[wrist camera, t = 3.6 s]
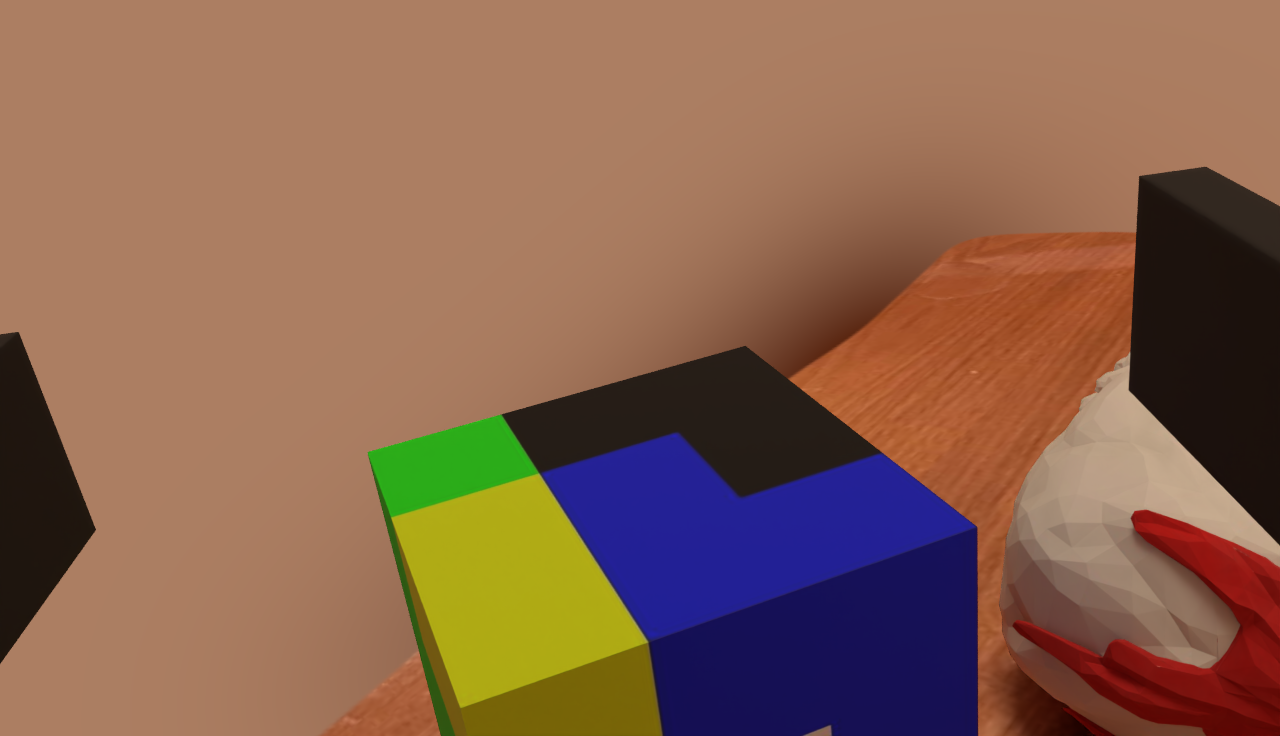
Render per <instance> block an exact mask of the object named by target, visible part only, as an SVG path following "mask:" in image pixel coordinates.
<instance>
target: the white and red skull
mask: <svg viewBox="0 0 1280 736" xmlns="http://www.w3.org/2000/svg"><path fill="white" fill-rule="evenodd" d="M1129 370H1130V353H1129V354H1128V356H1127V357H1125V358H1122V359H1121V360H1119V361H1118V362H1117V363H1116V364H1115V368H1114V371H1112V372H1108V373H1106V374H1104V375H1103V376H1102V377H1100V378H1099V379H1098V380H1096V382H1097V386H1096V388H1095V391H1096V392H1097V393H1094V394H1092V395H1089V396H1087V397H1084V398H1083V399H1082V400H1081V406H1080V408H1079V411H1080V412H1079V413H1078V414H1077V415H1076V416H1075V417H1074V418H1073V420H1072V421H1071V423H1070V424H1069V426H1068V427H1067V429H1066V430H1065V431H1064V432H1063V433H1062V434H1061V435H1059V436H1058V437H1057V438H1056V439H1055V440H1054V441H1053V442H1052V443H1051V444H1050V445H1048V446H1047V447H1046V448H1045V450H1044V451H1043V453H1042V454H1041V456H1040V457H1039V458H1038V460H1037V461H1036V463H1035V464H1034V465H1033V467H1032V468H1031V470H1030V471H1029V472H1028V474H1027V476H1026V478H1025V480H1024V482H1023V485H1022V487H1021V489H1020V491H1019V493H1018V495H1017V498H1016V500H1015V503H1014V512H1013V520H1012V523H1011V525H1010V528H1009V531H1008V534H1007V537H1006V547H1005V557H1004V566H1003V575H1002V584H1001V593H1000V602H999V607H1000V611H1001V614H1002V632H1003V635H1004V638H1005V641H1006V644H1007V647H1008V649H1009V652H1010V655H1011V656H1012V658H1013V659H1014V660H1015V662H1016V663H1017V665H1018V666H1019V668H1020V669H1021V670H1022V671H1023V672H1024V673H1025V674H1026V675H1027V676H1028V677H1030V678H1031V679H1032V680H1033V681H1034V682H1035V683H1037V684H1038V685H1039V686H1040V687H1041V688H1043V689H1044V690H1045V691H1046V692H1047V693H1048V694H1050V695H1051V696H1052V697H1053V698H1054V699H1056V700H1058V701H1060V702H1063V703H1065V704H1067V705H1068V706H1069V707H1070V708H1062V709H1063V710H1064V711H1066V712H1067V713H1068V714H1070V715H1071V716H1072V717H1074V718H1075V719H1077V720H1078V721H1079V722H1080V723H1082V724H1083V725H1084V726H1085V727H1086V728H1087V729H1088V730H1089V731H1090V732H1091V733H1092V734H1094V735H1095V736H1280V545H1279V544H1278V543H1277V542H1276V541H1275V540H1274V539H1273V538H1272V537H1271V536H1270V535H1269V534H1268V533H1267V532H1266V531H1265V530H1264V529H1263V528H1262V527H1261V526H1260V525H1259V524H1258V523H1257V522H1256V521H1255V520H1254V519H1253V518H1252V517H1251V516H1250V515H1249V514H1248V513H1247V512H1246V510H1245V509H1244V508H1243V507H1242V506H1241V505H1240V504H1239V503H1238V502H1237V501H1236V500H1235V499H1234V498H1233V497H1232V496H1231V495H1230V494H1229V493H1228V492H1227V491H1226V490H1225V489H1224V488H1223V487H1222V486H1221V485H1220V484H1219V483H1218V482H1217V481H1216V480H1215V479H1214V478H1213V477H1212V476H1211V475H1210V473H1209V472H1208V471H1207V470H1206V469H1205V468H1204V467H1203V466H1202V465H1201V464H1200V463H1199V462H1198V461H1197V460H1196V459H1195V458H1194V457H1193V456H1192V455H1191V454H1190V453H1189V452H1188V451H1187V450H1186V449H1185V448H1184V447H1183V446H1182V445H1181V444H1180V443H1179V442H1178V441H1177V440H1176V439H1175V437H1174V436H1173V435H1172V434H1171V433H1170V432H1169V431H1168V430H1167V429H1166V428H1165V427H1164V426H1163V425H1162V424H1161V423H1160V422H1159V421H1158V420H1157V419H1156V418H1155V417H1154V416H1153V415H1152V414H1151V413H1150V412H1149V411H1148V410H1147V409H1146V408H1145V407H1144V406H1143V405H1142V404H1141V403H1140V402H1139V400H1138V399H1137V398H1136V397H1135V396H1134V395H1133V394H1132V393H1131V392H1130V391H1129V390H1128V389H1129Z"/></svg>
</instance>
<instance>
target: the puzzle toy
mask: <svg viewBox="0 0 1280 736" xmlns="http://www.w3.org/2000/svg"><path fill="white" fill-rule="evenodd" d="M368 456H369V460H370V464H371V468H372V471H373V475H374V479H375V483H376V487H377V491H378V495H379V499H380V502H381V506H382V510H383V514H384V518H385V521H386V525H387V529H388V533H389V537H390V541H391V544H392V548H393V553H394V556H395V560H396V564H397V568H398V572H399V575H400V580H401V583H402V587H403V591H404V595H405V599H406V603H407V606H408V610H409V614H410V618H411V622H412V626H413V630H414V634H415V637H416V641H417V645H418V649H419V653H420V657H421V661H422V664H423V668H424V672H425V676H426V680H427V684H428V688H429V691H430V695H431V699H432V703H433V707H434V711H435V715H436V718H437V722H438V726H439V730H440V734H441V736H978V572H977V526H975V525H974V524H973V523H972V522H970V521H969V520H968V519H966V518H965V517H964V516H963V515H961V514H960V513H959V512H957V511H956V510H955V509H954V508H952V507H951V506H950V505H948V504H947V503H946V502H945V501H943V500H942V499H941V498H940V497H938V496H937V495H936V494H934V493H933V492H932V491H931V490H929V489H928V488H927V487H925V486H924V485H923V484H922V483H920V482H919V481H918V480H916V479H915V478H914V477H913V476H911V475H910V474H909V473H907V472H906V471H905V470H904V469H902V468H901V467H900V466H899V465H897V464H896V463H895V462H893V461H892V460H891V459H890V458H888V457H887V456H886V455H884V454H883V453H882V452H881V451H879V450H878V449H877V448H875V447H874V446H873V445H872V444H870V443H869V442H868V441H867V440H865V439H864V438H863V437H861V436H860V435H859V434H858V433H856V432H855V431H854V430H852V429H851V428H850V427H849V426H847V425H846V424H845V423H843V422H842V421H841V420H840V419H838V418H837V417H836V416H834V415H833V414H832V413H831V412H829V411H828V410H827V409H826V408H824V407H823V406H822V405H820V404H819V403H818V402H817V401H815V400H814V399H813V398H811V397H810V396H809V395H808V394H806V393H805V392H804V391H802V390H801V389H800V388H799V387H797V386H796V385H795V384H794V383H792V382H791V381H790V380H788V379H787V378H786V377H784V376H783V375H782V374H781V373H779V372H778V371H777V370H776V369H774V368H773V367H772V366H770V365H769V364H768V363H767V362H765V361H764V360H763V359H761V358H760V357H759V356H757V355H756V354H755V353H754V352H753V351H751V350H750V349H749V348H747V347H746V346H743V347H740V348H737V349H733V350H729V351H726V352H722V353H719V354H715V355H711V356H708V357H704V358H701V359H697V360H694V361H690V362H687V363H683V364H679V365H676V366H673V367H669V368H665V369H662V370H658V371H655V372H651V373H648V374H644V375H640V376H637V377H633V378H630V379H626V380H623V381H619V382H616V383H612V384H609V385H605V386H602V387H598V388H594V389H591V390H587V391H583V392H580V393H577V394H573V395H570V396H566V397H562V398H558V399H555V400H551V401H548V402H544V403H541V404H537V405H534V406H530V407H526V408H523V409H519V410H516V411H512V412H509V413H505V414H502V415H498V416H495V417H491V418H488V419H484V420H480V421H477V422H473V423H470V424H466V425H463V426H459V427H456V428H452V429H448V430H445V431H441V432H438V433H434V434H430V435H427V436H423V437H420V438H416V439H413V440H409V441H405V442H402V443H399V444H395V445H391V446H388V447H384V448H381V449H377V450H373V451H370V452H368Z"/></svg>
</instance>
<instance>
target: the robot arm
mask: <svg viewBox="0 0 1280 736" xmlns="http://www.w3.org/2000/svg"><path fill="white" fill-rule="evenodd" d="M1137 213H1138V214H1137V232H1136V251H1135V271H1134V291H1133V310H1132V330H1131V350H1130V370H1129V389H1128V390H1129V391H1130V392H1131V393H1132V394H1133V395H1134V396H1135V397H1136V398H1137V399H1138V400H1139V402H1140V403H1141V404H1142V405H1143V406H1144V407H1145V408H1146V409H1147V410H1148V411H1149V412H1150V413H1151V414H1152V415H1153V416H1154V417H1155V418H1156V419H1157V420H1158V421H1159V422H1160V423H1161V424H1162V425H1163V426H1164V427H1165V428H1166V429H1167V430H1168V431H1169V432H1170V433H1171V434H1172V435H1173V436H1174V437H1175V439H1176V440H1177V441H1178V442H1179V443H1180V444H1181V445H1182V446H1183V447H1184V448H1185V449H1186V450H1187V451H1188V452H1189V453H1190V454H1191V455H1192V456H1193V457H1194V458H1195V459H1196V460H1197V461H1198V462H1199V463H1200V464H1201V465H1202V466H1203V467H1204V468H1205V469H1206V470H1207V471H1208V472H1209V473H1210V475H1211V476H1212V477H1213V478H1214V479H1215V480H1216V481H1217V482H1218V483H1219V484H1220V485H1221V486H1222V487H1223V488H1224V489H1225V490H1226V491H1227V492H1228V493H1229V494H1230V495H1231V496H1232V497H1233V498H1234V499H1235V500H1236V501H1237V502H1238V503H1239V504H1240V505H1241V506H1242V507H1243V508H1244V509H1245V510H1246V512H1247V513H1248V514H1249V515H1250V516H1251V517H1252V518H1253V519H1254V520H1255V521H1256V522H1257V523H1258V524H1259V525H1260V526H1261V527H1262V528H1263V529H1264V530H1265V531H1266V532H1267V533H1268V534H1269V535H1270V536H1271V537H1272V538H1273V539H1274V540H1275V541H1276V542H1277V543H1278V544H1279V545H1280V206H1278V205H1276V204H1275V203H1273V202H1271V201H1269V200H1267V199H1265V198H1263V197H1262V196H1260V195H1257V194H1256V193H1254V192H1252V191H1250V190H1248V189H1246V188H1245V187H1243V186H1241V185H1239V184H1237V183H1235V182H1234V181H1232V180H1230V179H1228V178H1226V177H1224V176H1222V175H1220V174H1219V173H1217V172H1215V171H1213V170H1211V169H1209V168H1207V167H1201V168H1195V169H1187V170H1180V171H1172V172H1165V173H1158V174H1152V175H1144V176H1139V193H1138V212H1137ZM95 530H96V529H95V526H94V524H93V521H92V519H91V516H90V513H89V511H88V508H87V506H86V503H85V501H84V499H83V496H82V493H81V490H80V488H79V485H78V483H77V480H76V478H75V475H74V472H73V470H72V467H71V465H70V462H69V460H68V457H67V455H66V452H65V450H64V447H63V444H62V442H61V439H60V437H59V434H58V432H57V429H56V426H55V424H54V421H53V419H52V416H51V414H50V411H49V409H48V406H47V404H46V401H45V398H44V396H43V393H42V391H41V388H40V385H39V383H38V380H37V378H36V375H35V373H34V370H33V368H32V365H31V362H30V360H29V358H28V355H27V352H26V350H25V347H24V345H23V342H22V339H21V337H20V334H19V332H15V333H8V334H1V335H0V663H1V662H2V661H3V659H4V658H5V656H6V655H7V654H8V652H9V651H10V649H11V648H12V647H13V645H14V644H15V642H16V641H17V639H18V638H19V637H20V635H21V634H22V633H23V631H24V630H25V628H26V627H27V626H28V624H29V623H30V621H31V620H32V619H33V617H34V616H35V614H36V613H37V612H38V610H39V609H40V607H41V606H42V604H43V603H44V602H45V600H46V599H47V597H48V596H49V595H50V593H51V592H52V590H53V589H54V588H55V586H56V585H57V584H58V582H59V581H60V579H61V578H62V577H63V575H64V574H65V573H66V571H67V570H68V568H69V567H70V565H71V564H72V563H73V561H74V560H75V558H76V557H77V555H78V554H79V553H80V552H81V550H82V549H83V547H84V546H85V544H86V543H87V542H88V540H89V539H90V537H91V536H92V535H93V533H94V532H95Z"/></svg>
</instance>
